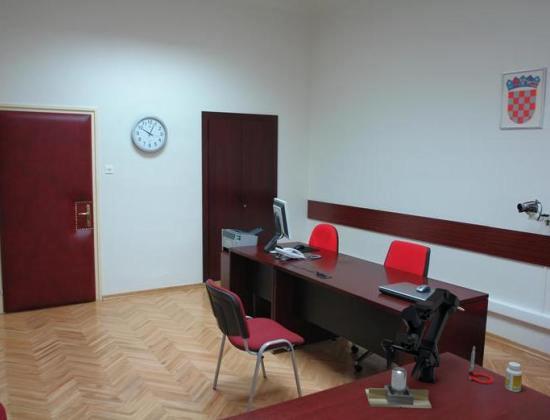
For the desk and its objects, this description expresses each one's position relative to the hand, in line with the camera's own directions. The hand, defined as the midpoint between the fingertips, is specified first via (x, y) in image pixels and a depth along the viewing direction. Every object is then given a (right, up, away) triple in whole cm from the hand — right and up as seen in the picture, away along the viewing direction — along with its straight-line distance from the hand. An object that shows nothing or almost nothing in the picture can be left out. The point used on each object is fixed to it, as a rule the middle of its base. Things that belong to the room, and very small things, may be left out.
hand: (399, 373), depth 171 cm
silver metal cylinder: (0, -9, +1) cm, 9 cm away
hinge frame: (0, -10, +2) cm, 11 cm away
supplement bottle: (+46, -10, +12) cm, 49 cm away
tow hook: (+37, -9, +20) cm, 43 cm away
